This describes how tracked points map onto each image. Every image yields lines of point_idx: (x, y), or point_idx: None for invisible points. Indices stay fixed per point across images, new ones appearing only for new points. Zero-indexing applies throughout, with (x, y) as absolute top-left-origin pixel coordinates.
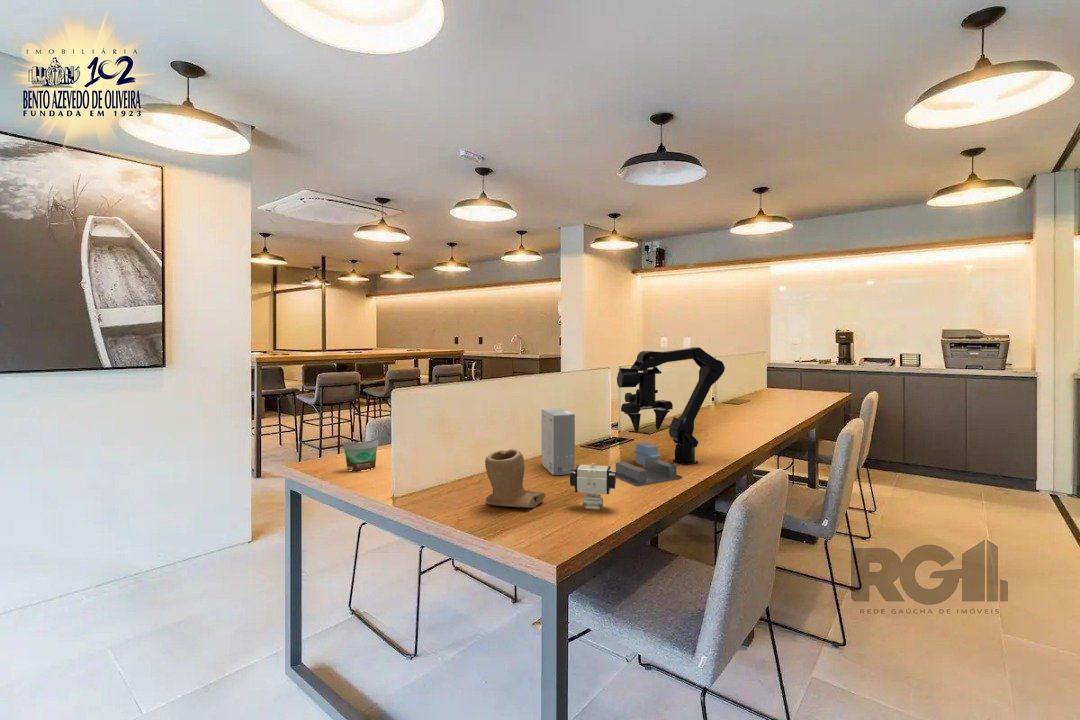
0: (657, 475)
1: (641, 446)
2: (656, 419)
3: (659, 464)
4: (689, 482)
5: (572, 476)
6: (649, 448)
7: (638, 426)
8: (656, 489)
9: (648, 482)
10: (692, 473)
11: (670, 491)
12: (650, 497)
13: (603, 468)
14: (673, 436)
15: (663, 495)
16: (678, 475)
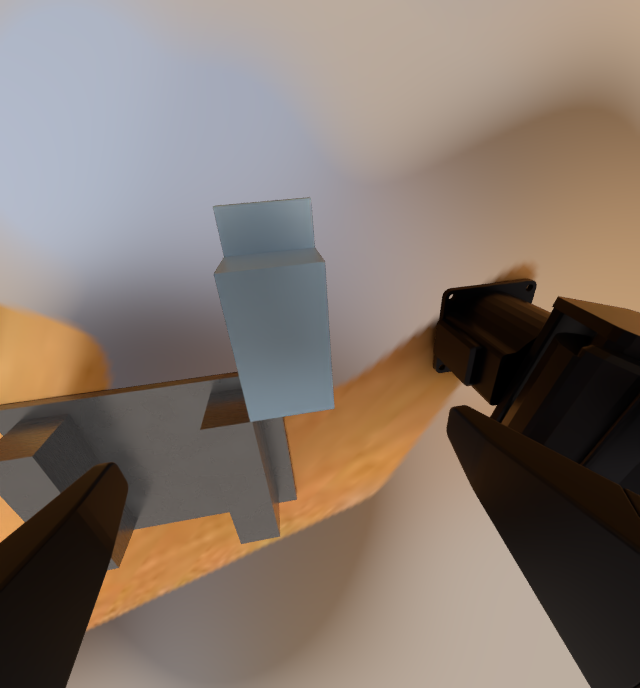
0: (215, 477)
1: (233, 344)
2: (574, 528)
3: (228, 502)
4: (291, 521)
5: None
6: (257, 416)
7: (80, 606)
8: (151, 553)
9: (141, 527)
10: (370, 458)
11: (187, 565)
12: (104, 591)
13: None
14: (521, 412)
15: (150, 583)
16: (293, 488)
